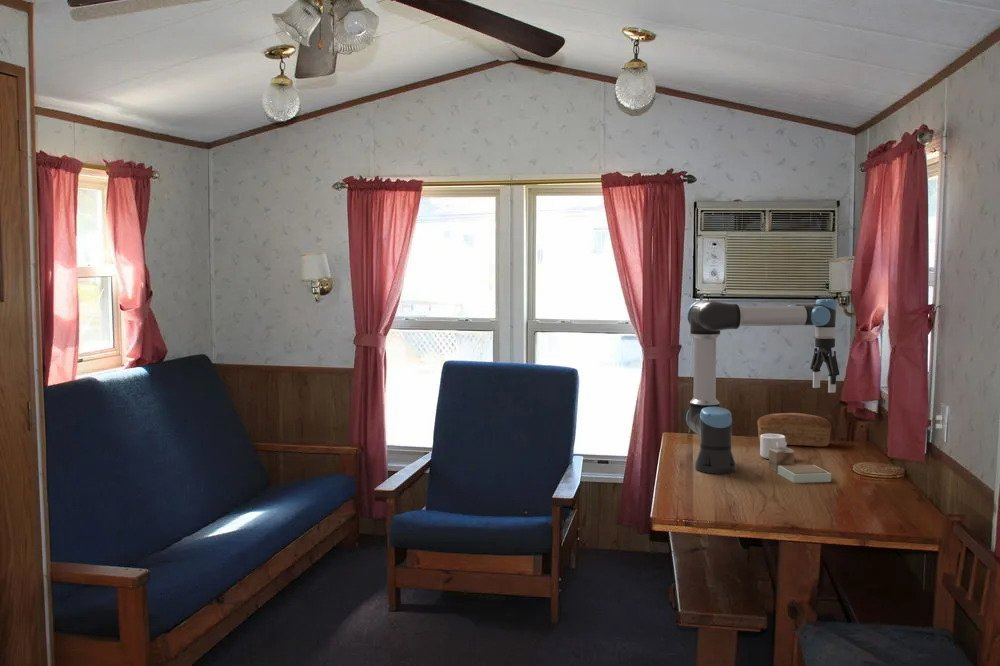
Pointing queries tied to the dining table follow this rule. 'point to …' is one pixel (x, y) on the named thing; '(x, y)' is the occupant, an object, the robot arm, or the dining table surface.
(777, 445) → the mug
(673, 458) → the dining table surface
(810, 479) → the base
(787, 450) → the block
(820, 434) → the bread
